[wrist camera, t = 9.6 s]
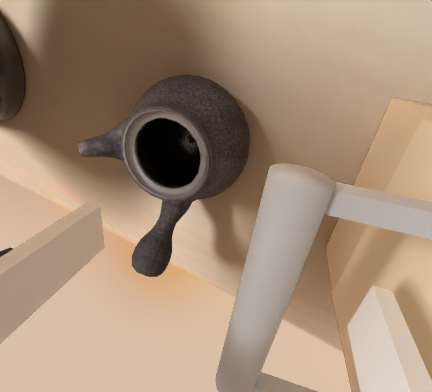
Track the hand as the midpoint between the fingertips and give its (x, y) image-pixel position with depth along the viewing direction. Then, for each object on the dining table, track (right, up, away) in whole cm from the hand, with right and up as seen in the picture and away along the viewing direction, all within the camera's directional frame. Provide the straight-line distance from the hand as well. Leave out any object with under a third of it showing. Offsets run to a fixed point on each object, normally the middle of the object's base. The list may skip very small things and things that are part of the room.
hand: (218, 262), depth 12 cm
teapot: (-4, +7, +17) cm, 19 cm away
